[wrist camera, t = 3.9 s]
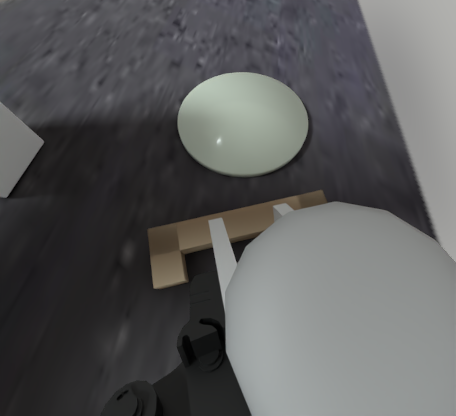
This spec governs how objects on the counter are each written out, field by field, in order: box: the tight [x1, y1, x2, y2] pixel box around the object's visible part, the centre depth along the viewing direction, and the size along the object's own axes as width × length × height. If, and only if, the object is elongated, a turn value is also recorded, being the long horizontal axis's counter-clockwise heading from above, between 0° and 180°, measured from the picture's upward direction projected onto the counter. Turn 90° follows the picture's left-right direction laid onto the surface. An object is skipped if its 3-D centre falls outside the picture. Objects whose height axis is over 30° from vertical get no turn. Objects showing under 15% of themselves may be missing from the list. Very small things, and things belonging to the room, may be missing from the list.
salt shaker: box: [225, 201, 456, 416], centre depth 9 cm, size 6×6×13 cm
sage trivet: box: [177, 72, 308, 177], centre depth 21 cm, size 12×12×1 cm
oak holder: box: [147, 190, 328, 289], centre depth 16 cm, size 4×13×2 cm, turn 103°
